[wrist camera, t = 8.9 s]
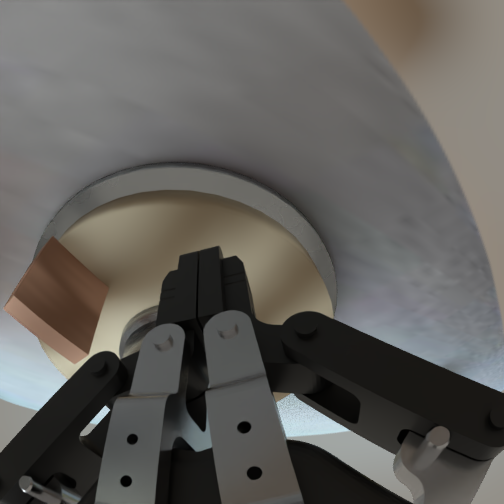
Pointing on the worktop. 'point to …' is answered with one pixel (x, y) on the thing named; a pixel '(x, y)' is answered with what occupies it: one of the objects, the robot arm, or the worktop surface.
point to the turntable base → (201, 181)
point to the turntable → (154, 269)
